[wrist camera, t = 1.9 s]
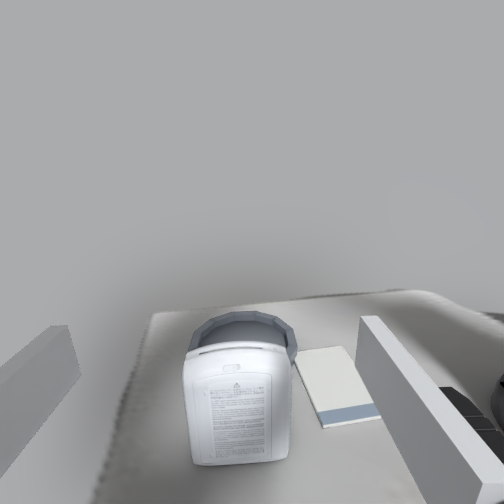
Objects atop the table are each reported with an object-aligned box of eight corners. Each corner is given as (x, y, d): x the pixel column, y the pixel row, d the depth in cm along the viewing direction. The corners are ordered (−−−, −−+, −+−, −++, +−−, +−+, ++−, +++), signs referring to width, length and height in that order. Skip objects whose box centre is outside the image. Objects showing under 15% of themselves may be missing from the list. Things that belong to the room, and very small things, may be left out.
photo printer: (286, 422, 30) (287, 328, 26) (294, 463, 26) (297, 358, 22) (194, 430, 30) (181, 334, 26) (187, 472, 26) (171, 367, 22)
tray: (287, 319, 50) (287, 309, 49) (305, 388, 34) (305, 376, 34) (201, 322, 50) (200, 313, 49) (180, 393, 34) (178, 380, 34)
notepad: (341, 348, 42) (341, 345, 41) (390, 416, 30) (391, 413, 30) (291, 354, 41) (291, 351, 40) (323, 428, 29) (323, 425, 29)
